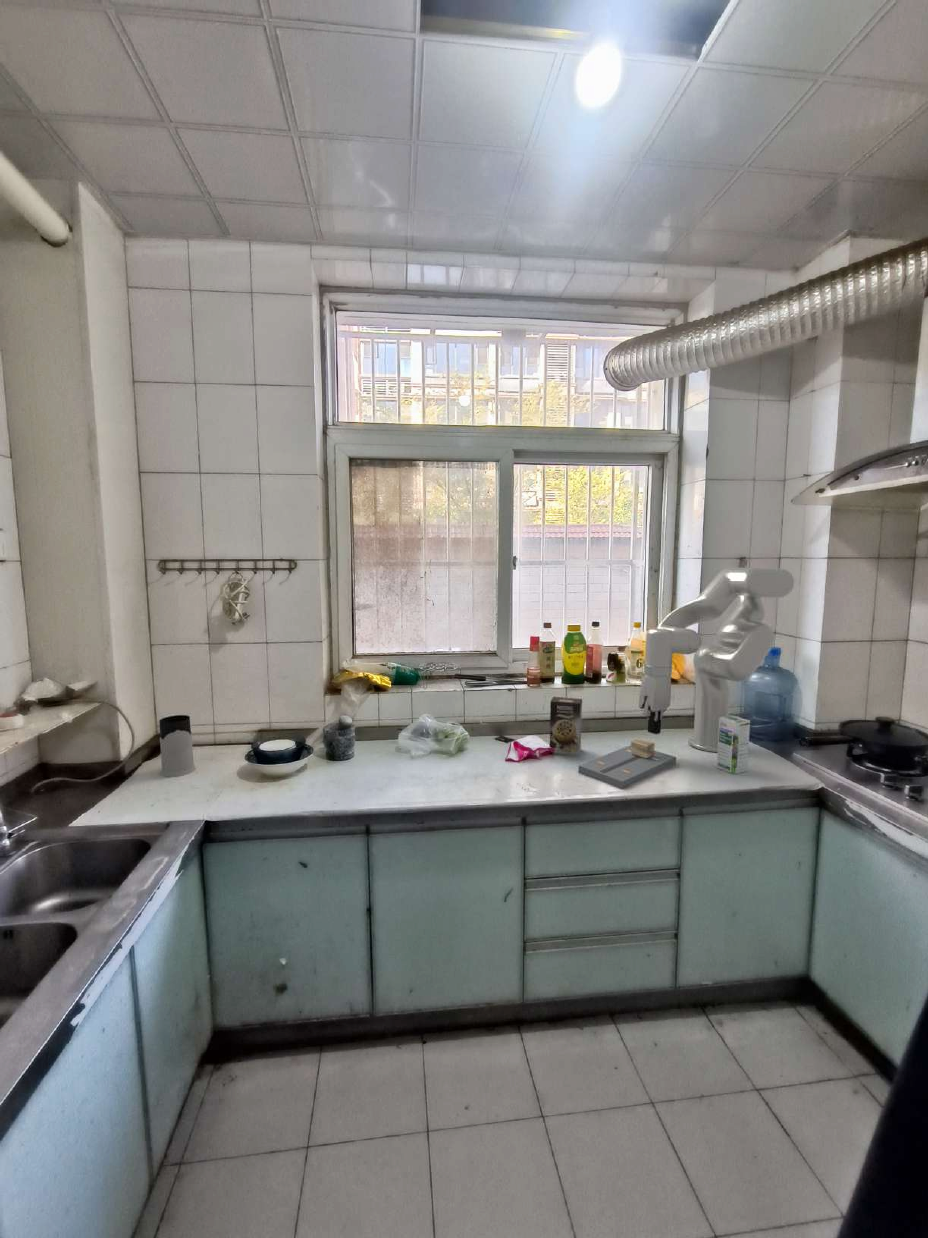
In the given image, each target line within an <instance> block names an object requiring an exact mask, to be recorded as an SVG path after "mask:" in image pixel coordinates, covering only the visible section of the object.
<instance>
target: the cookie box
mask: <svg viewBox="0 0 928 1238" xmlns="http://www.w3.org/2000/svg"><path fill="white" fill-rule="evenodd" d="M549 708H550V710H549V711H550V712H549V715H550V716H549V748H550V747H551V748H554V750H555V751H554V753H553V754H556V755H567V756H574V757H575V756H576V757H579V756H580V754H581V751H582V718H583V717H582V716H583V715H582V713H583V699H582V698H576V697H575V698H573V697H561V696H552V698H551V700H550V707H549Z"/></svg>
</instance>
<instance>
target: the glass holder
mask: <svg viewBox="0 0 928 1238" xmlns="http://www.w3.org/2000/svg"><path fill="white" fill-rule="evenodd" d="M191 729H192V728H191V717H190V715H186V714H178V715H176V714H175V715H169V716H165V717H162V718H161V719H159V735H160V736H159V743H160V748H159V749H160V760H161V771H160V776H161V777H162V778H163V777H164V778H176V777H181V776H185V775H188V774H191V773H193V772H194V771H195V770H196V765H195V764H194V763H195V762H194V750H193V749H194V748H193V735H192V730H191Z"/></svg>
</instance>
